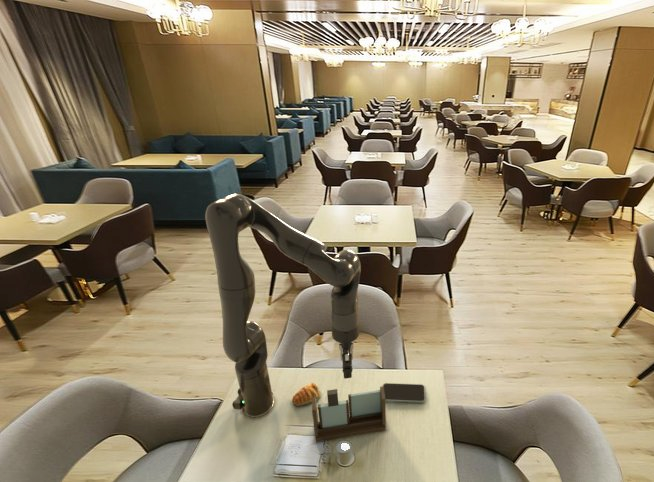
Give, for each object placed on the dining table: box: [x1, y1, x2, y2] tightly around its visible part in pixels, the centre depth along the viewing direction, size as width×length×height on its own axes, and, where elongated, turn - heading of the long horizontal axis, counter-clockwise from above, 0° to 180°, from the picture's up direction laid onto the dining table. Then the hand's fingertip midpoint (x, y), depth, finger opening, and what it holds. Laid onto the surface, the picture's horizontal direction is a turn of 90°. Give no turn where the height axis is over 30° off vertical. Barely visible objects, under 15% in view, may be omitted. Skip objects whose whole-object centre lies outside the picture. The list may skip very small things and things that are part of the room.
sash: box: [317, 388, 350, 429], centre depth 108 cm, size 2×9×15 cm, turn 102°
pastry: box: [291, 382, 322, 407], centre depth 123 cm, size 9×7×4 cm
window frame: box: [311, 385, 387, 443], centre depth 110 cm, size 6×22×14 cm, turn 102°
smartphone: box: [382, 382, 426, 404], centre depth 126 cm, size 7×1×15 cm
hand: (347, 366), depth 102 cm, fingers open, 8 cm apart
